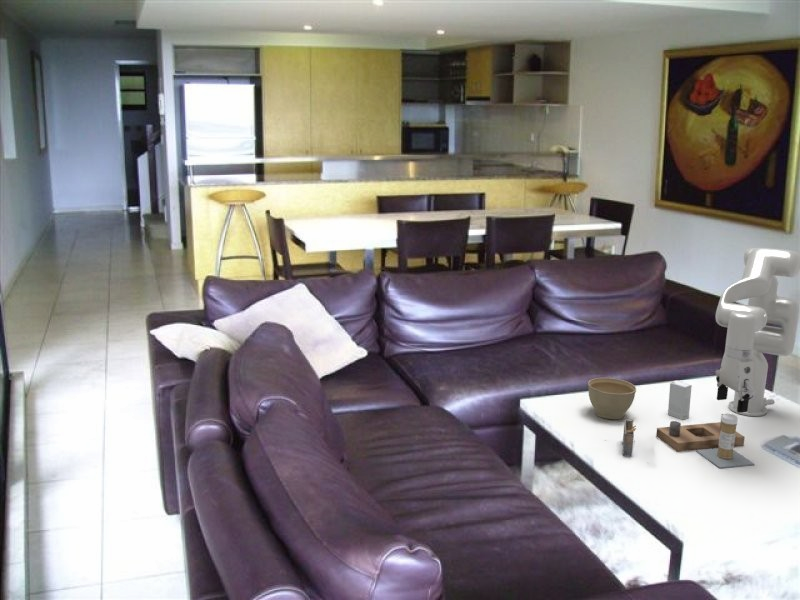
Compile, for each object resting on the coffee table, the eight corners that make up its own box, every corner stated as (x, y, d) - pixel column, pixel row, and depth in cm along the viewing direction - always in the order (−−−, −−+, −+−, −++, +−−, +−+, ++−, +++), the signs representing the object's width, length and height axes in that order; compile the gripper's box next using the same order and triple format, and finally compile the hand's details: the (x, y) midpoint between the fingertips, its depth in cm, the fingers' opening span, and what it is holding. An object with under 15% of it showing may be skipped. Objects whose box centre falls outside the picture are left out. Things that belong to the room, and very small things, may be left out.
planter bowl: (626, 427, 265) (629, 397, 262) (579, 417, 273) (582, 387, 270) (638, 411, 279) (641, 382, 276) (593, 402, 286) (595, 374, 284)
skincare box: (689, 417, 275) (693, 384, 272) (682, 420, 272) (686, 387, 269) (673, 411, 279) (677, 379, 276) (666, 414, 277) (669, 382, 274)
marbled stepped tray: (633, 457, 244) (636, 428, 241) (622, 456, 244) (625, 427, 242) (632, 443, 254) (635, 414, 252) (622, 441, 255) (625, 413, 253)
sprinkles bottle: (724, 452, 246) (729, 412, 243) (736, 458, 242) (741, 417, 239) (713, 454, 244) (718, 414, 241) (725, 460, 240) (730, 419, 237)
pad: (729, 448, 251) (729, 446, 250) (754, 465, 239) (754, 463, 239) (695, 451, 248) (696, 450, 248) (719, 468, 236) (719, 467, 236)
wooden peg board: (720, 430, 264) (723, 408, 262) (743, 445, 253) (746, 422, 251) (656, 436, 258) (658, 413, 256) (677, 452, 247) (679, 428, 245)
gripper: (768, 361, 228) (761, 415, 232) (731, 342, 244) (724, 393, 249) (746, 363, 226) (739, 418, 231) (709, 344, 242) (703, 396, 247)
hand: (731, 405), depth 240 cm, fingers open, 9 cm apart
